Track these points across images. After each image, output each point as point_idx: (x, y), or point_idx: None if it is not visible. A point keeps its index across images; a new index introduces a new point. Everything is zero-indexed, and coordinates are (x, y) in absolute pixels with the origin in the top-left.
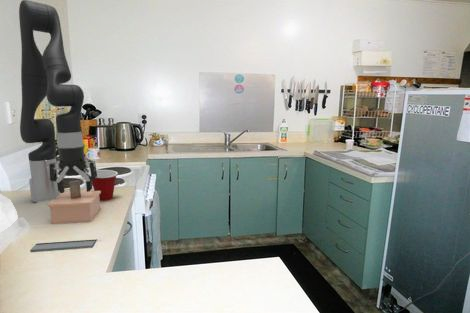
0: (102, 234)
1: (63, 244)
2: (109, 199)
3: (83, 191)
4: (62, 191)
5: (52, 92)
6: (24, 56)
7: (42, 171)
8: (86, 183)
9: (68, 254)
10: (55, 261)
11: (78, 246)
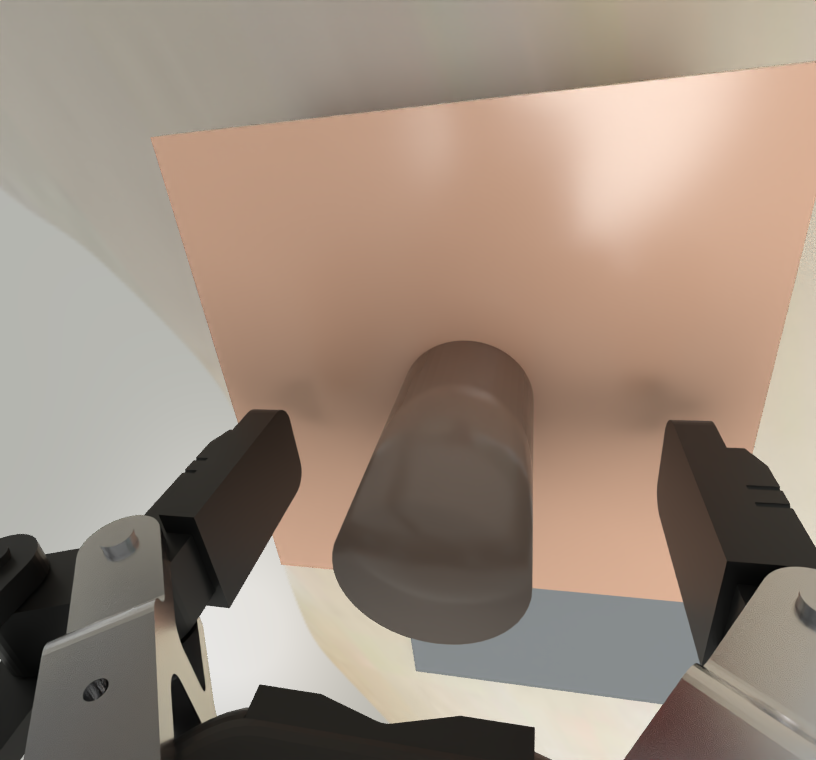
0: None
1: (554, 667)
2: None
3: (480, 111)
4: (292, 483)
5: None
6: None
7: None
8: (701, 633)
9: (604, 716)
10: (566, 742)
11: (642, 701)
